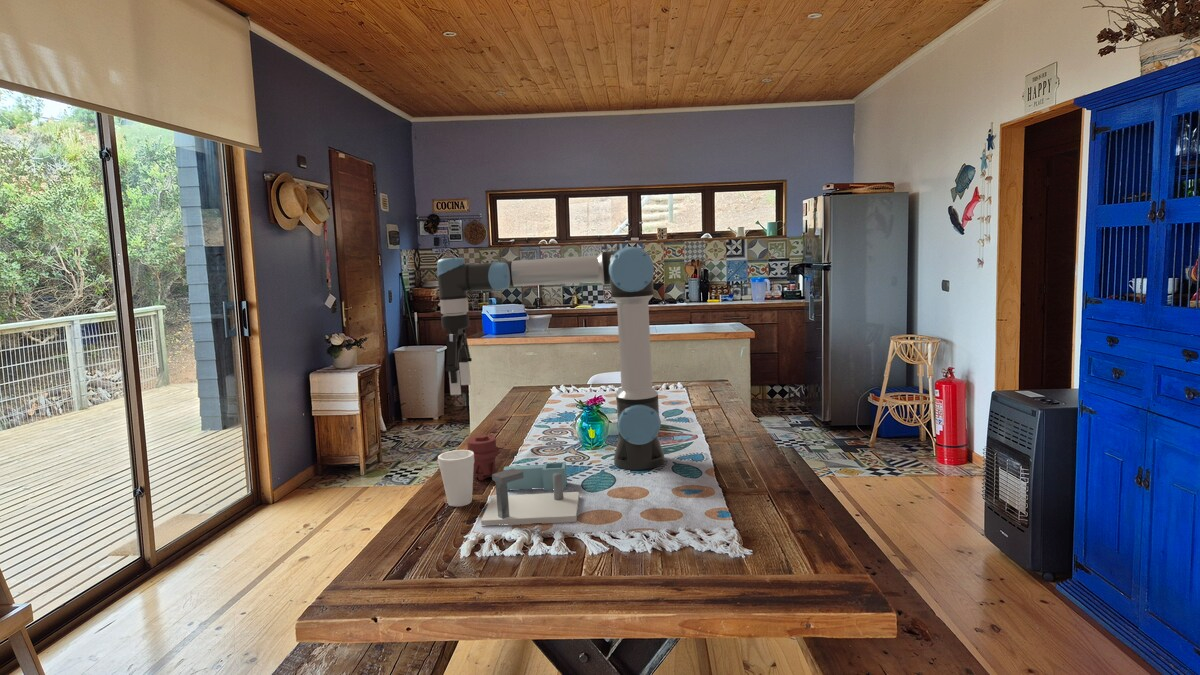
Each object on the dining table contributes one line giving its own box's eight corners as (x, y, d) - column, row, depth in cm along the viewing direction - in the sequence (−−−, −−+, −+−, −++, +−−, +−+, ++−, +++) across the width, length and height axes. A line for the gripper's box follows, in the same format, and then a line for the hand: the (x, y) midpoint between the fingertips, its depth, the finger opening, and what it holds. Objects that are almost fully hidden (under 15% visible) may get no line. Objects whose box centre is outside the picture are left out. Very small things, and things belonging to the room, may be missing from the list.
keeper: (517, 514, 182) (513, 468, 181) (526, 518, 179) (523, 471, 177) (495, 521, 178) (491, 474, 177) (505, 526, 175) (501, 478, 173)
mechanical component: (505, 471, 218) (494, 482, 208) (474, 471, 220) (461, 482, 210) (502, 431, 216) (491, 440, 206) (471, 431, 218) (458, 440, 208)
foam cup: (447, 511, 187) (442, 462, 186) (437, 500, 195) (433, 454, 194) (482, 503, 192) (478, 455, 190) (471, 493, 200) (467, 447, 198)
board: (579, 497, 192) (577, 468, 191) (576, 521, 175) (574, 489, 174) (492, 501, 192) (490, 472, 191) (481, 526, 176) (478, 494, 175)
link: (567, 482, 204) (565, 461, 204) (565, 489, 198) (564, 468, 198) (507, 485, 205) (505, 464, 204) (503, 492, 199) (502, 471, 198)
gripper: (451, 310, 213) (457, 381, 216) (430, 319, 188) (437, 399, 191) (476, 309, 213) (482, 380, 215) (458, 318, 188) (465, 398, 191)
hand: (461, 389), depth 203 cm, fingers open, 13 cm apart
